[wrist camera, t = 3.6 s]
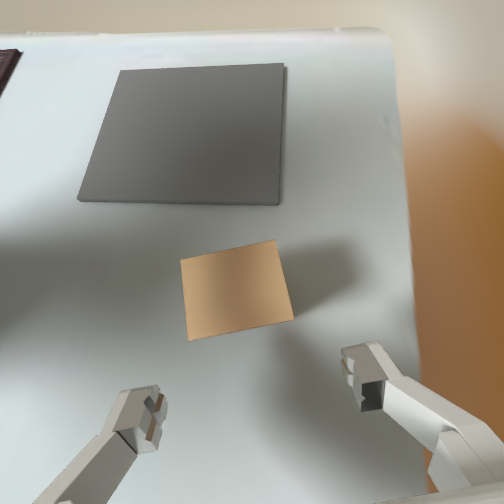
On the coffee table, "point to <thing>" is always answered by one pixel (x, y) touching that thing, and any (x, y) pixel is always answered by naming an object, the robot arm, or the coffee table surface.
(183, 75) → the charcoal mat
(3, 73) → the chocolate bar
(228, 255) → the oak block
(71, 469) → the robot arm
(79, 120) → the coffee table surface
